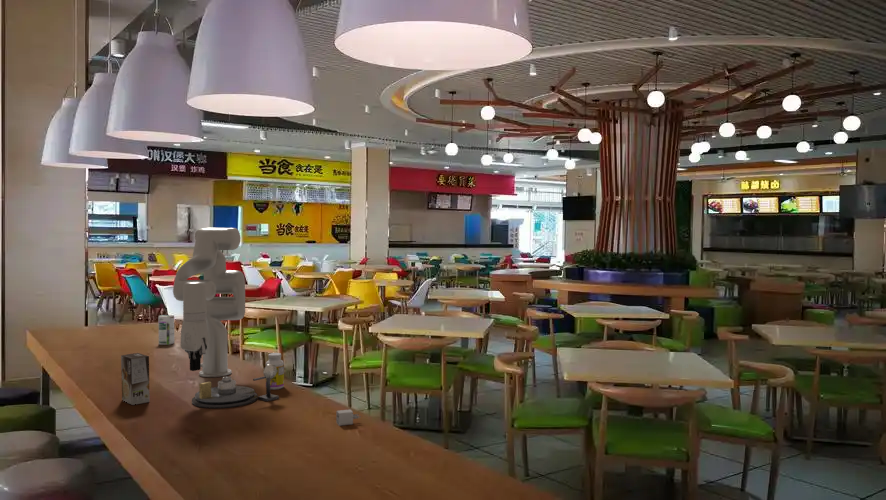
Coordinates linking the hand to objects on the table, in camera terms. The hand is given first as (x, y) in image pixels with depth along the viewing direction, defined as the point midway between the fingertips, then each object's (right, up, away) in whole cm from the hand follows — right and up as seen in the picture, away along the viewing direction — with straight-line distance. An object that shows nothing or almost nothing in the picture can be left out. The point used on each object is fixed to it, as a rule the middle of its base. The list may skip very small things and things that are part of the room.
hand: (195, 370), depth 238 cm
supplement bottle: (+23, -10, +20) cm, 32 cm away
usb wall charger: (+57, -13, -24) cm, 63 cm away
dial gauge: (+23, -11, +3) cm, 26 cm away
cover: (+10, -8, +3) cm, 14 cm away
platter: (+10, -10, +2) cm, 14 cm away
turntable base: (+10, -11, +3) cm, 15 cm away
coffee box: (-21, -11, 0) cm, 24 cm away
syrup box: (-54, -6, +110) cm, 122 cm away
